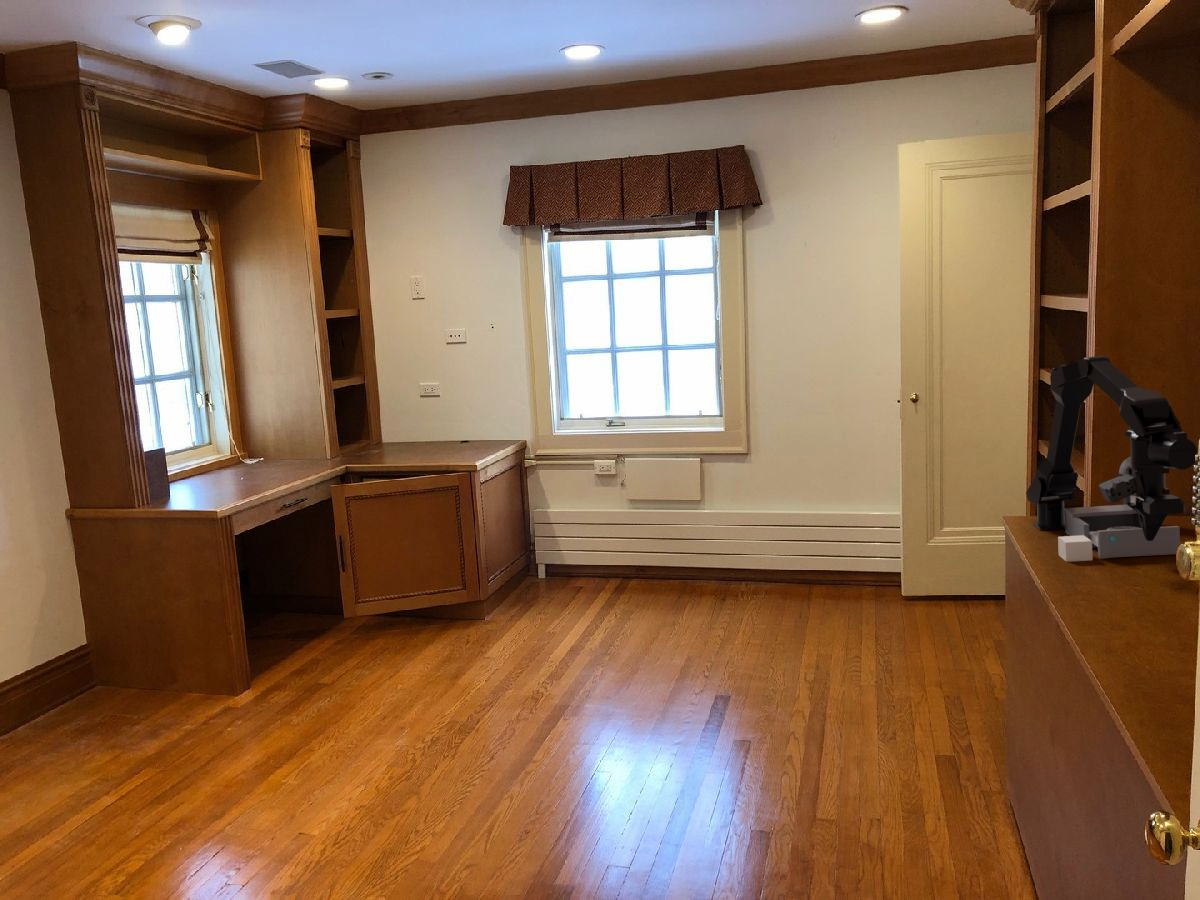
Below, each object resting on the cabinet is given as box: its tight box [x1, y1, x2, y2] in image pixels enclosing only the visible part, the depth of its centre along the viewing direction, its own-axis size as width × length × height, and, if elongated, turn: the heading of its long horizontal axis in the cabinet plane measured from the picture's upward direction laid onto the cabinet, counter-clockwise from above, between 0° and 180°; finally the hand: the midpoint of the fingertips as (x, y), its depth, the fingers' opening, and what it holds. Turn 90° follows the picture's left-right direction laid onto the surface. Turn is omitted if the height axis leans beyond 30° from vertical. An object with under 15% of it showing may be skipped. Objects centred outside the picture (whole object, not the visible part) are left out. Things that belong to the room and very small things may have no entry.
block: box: [1057, 535, 1093, 563], centre depth 201 cm, size 5×5×4 cm
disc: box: [1107, 526, 1139, 530], centre depth 204 cm, size 7×7×2 cm
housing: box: [1064, 504, 1142, 549], centre depth 212 cm, size 13×15×6 cm
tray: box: [1089, 525, 1181, 559], centre depth 203 cm, size 14×15×6 cm
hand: (1149, 540), depth 191 cm, fingers closed
